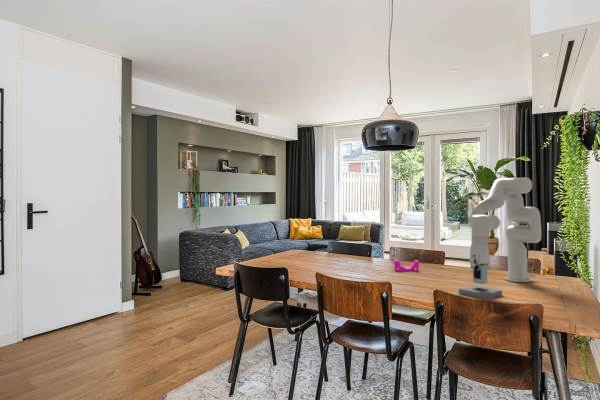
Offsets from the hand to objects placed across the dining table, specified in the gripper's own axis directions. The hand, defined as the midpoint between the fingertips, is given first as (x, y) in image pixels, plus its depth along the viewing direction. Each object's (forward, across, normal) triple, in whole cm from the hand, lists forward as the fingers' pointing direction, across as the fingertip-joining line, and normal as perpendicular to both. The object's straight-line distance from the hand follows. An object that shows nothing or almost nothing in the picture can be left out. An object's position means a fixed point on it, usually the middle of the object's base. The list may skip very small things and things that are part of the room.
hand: (480, 277), depth 183 cm
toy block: (+9, -17, -60) cm, 63 cm away
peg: (+3, 0, 0) cm, 3 cm away
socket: (+8, 0, 0) cm, 8 cm away
